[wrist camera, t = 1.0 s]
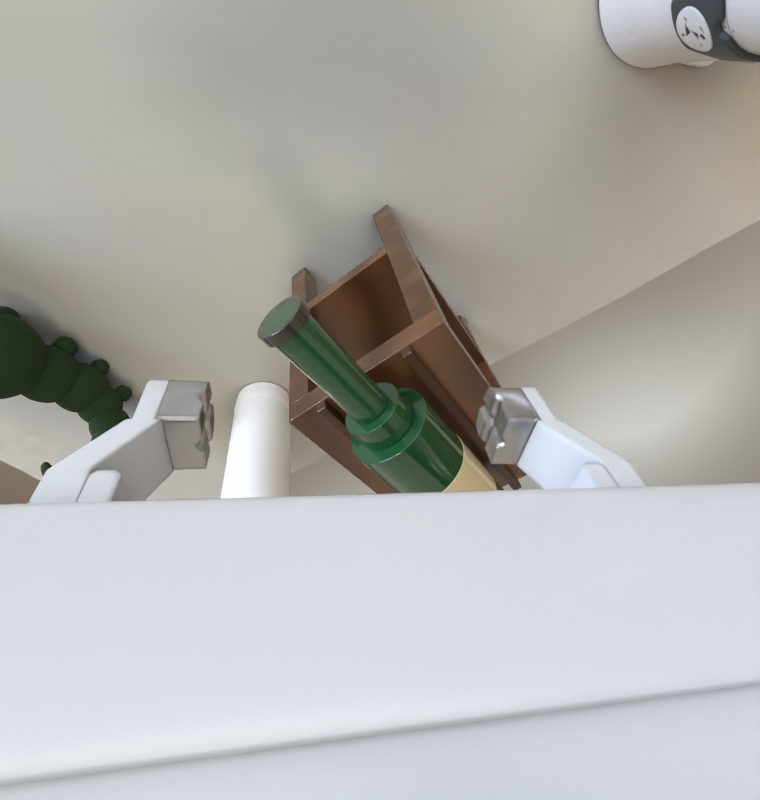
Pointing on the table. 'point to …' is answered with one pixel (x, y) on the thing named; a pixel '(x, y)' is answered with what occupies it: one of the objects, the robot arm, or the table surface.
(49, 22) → the table surface
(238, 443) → the bottle
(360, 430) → the bottle
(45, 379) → the toy figurine
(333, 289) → the stand
